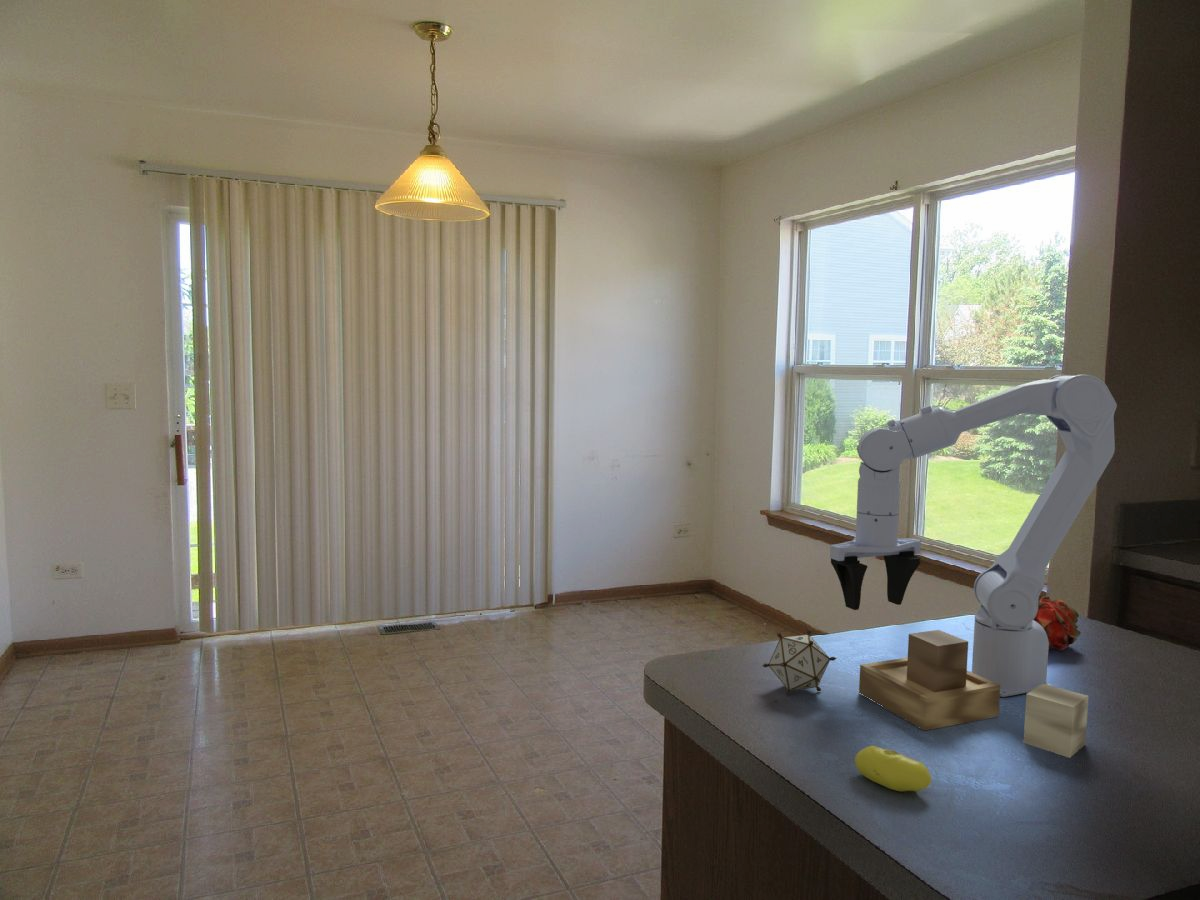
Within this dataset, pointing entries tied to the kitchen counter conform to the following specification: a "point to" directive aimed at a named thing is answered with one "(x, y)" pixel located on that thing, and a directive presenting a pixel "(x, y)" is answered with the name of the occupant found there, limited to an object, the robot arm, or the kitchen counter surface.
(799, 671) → the game die
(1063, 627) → the dragon fruit
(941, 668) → the walnut cube
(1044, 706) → the maple cube
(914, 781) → the yellow oval lump
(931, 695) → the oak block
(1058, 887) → the kitchen counter surface
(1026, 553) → the robot arm
